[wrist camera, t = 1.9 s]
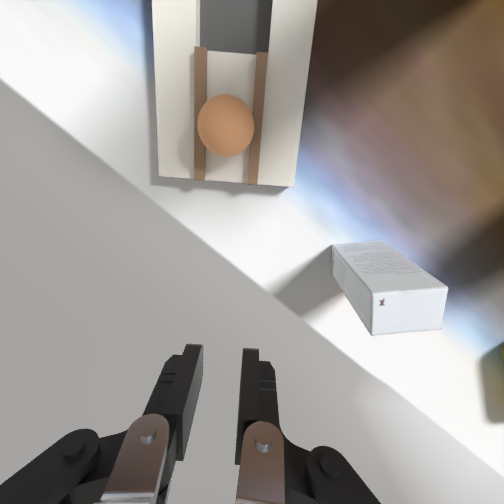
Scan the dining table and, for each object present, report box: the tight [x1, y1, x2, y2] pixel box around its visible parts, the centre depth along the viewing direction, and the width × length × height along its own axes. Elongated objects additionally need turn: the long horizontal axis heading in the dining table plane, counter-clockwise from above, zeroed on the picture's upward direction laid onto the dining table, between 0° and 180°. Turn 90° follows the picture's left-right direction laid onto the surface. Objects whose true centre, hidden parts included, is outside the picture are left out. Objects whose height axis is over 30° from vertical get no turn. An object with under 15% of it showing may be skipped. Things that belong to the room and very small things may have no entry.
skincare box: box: [332, 240, 448, 336], centre depth 28 cm, size 6×4×12 cm
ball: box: [197, 94, 254, 157], centre depth 24 cm, size 5×5×5 cm
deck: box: [152, 0, 317, 187], centre depth 25 cm, size 20×14×3 cm
